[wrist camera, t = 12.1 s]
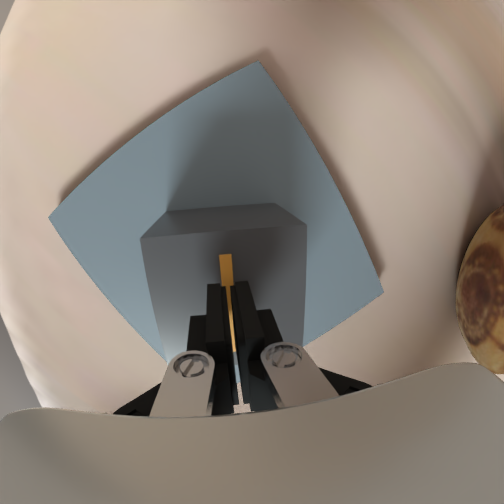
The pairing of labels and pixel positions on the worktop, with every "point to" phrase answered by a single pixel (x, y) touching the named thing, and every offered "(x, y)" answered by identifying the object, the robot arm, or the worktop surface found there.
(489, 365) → the clay pot
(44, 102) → the worktop surface
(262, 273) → the dark grey cube
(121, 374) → the worktop surface
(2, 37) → the worktop surface
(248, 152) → the base
